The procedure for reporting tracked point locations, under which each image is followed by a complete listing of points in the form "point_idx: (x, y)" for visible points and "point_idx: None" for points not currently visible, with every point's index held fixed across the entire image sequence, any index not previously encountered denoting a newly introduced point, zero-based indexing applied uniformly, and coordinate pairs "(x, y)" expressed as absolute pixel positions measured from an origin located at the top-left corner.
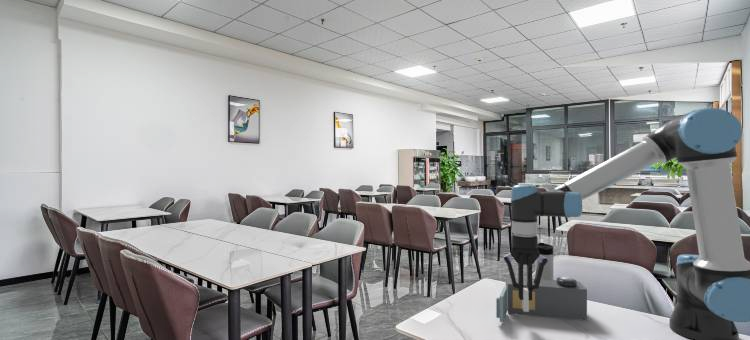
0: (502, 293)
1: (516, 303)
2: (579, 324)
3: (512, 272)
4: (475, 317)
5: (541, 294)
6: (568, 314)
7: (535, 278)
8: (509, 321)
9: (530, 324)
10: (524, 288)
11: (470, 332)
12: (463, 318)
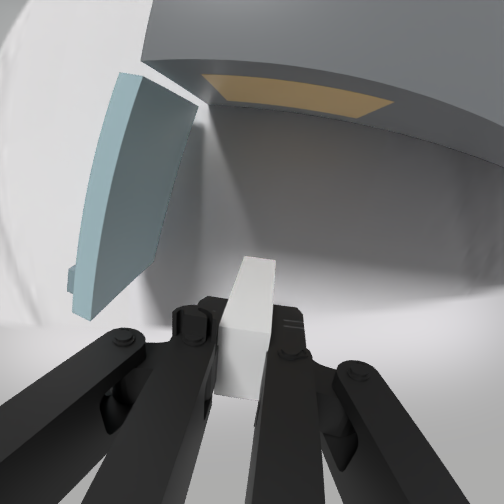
0: (86, 257)
1: (246, 97)
2: (494, 215)
3: (52, 490)
4: (61, 187)
5: (433, 118)
6: (492, 160)
7: (354, 467)
8: (194, 208)
9: (291, 232)
10: (237, 349)
11: (58, 320)
12: (28, 207)
